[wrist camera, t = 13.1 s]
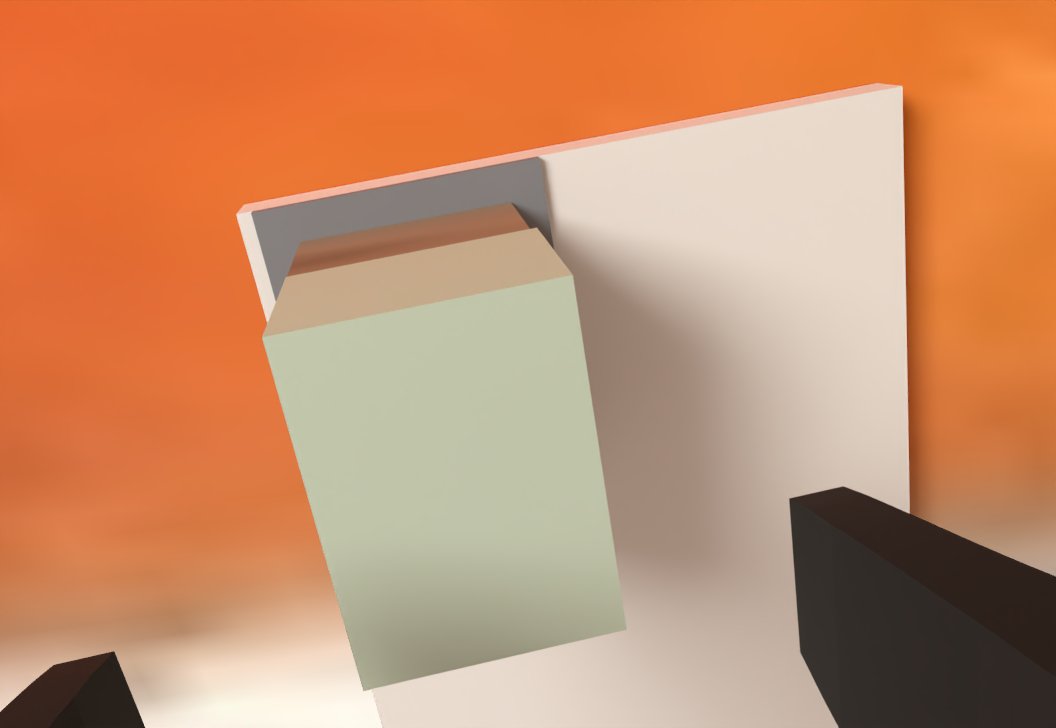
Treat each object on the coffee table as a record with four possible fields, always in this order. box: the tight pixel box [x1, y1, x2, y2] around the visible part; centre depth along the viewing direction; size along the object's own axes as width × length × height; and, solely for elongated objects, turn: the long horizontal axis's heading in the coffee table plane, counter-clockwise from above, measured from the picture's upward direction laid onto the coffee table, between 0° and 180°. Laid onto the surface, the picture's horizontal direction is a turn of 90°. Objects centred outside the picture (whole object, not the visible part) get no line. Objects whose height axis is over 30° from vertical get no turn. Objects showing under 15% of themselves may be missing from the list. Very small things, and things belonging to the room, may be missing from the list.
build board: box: [236, 83, 910, 728], centre depth 21 cm, size 18×13×1 cm
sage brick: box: [262, 228, 627, 691], centre depth 14 cm, size 6×4×3 cm
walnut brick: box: [287, 202, 530, 277], centre depth 17 cm, size 6×4×3 cm
